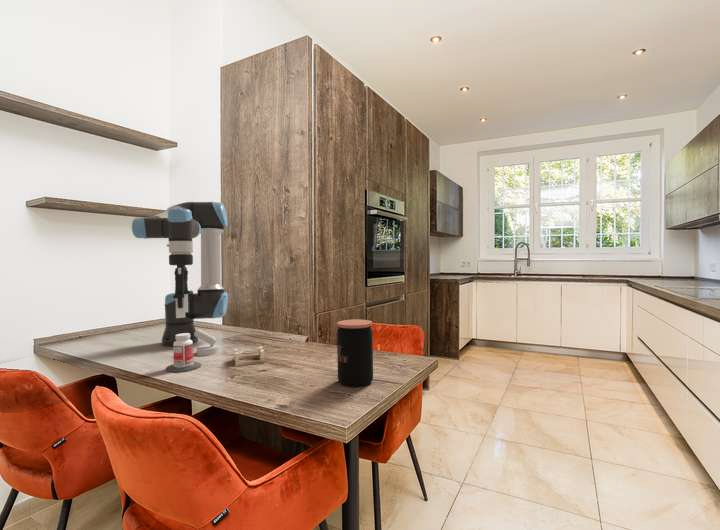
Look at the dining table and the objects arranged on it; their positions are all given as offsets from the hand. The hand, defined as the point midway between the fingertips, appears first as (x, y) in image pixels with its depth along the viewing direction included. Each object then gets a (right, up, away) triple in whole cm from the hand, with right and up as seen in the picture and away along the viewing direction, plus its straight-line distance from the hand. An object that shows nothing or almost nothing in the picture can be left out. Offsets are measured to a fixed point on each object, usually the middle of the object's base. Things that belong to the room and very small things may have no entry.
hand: (182, 314), depth 133 cm
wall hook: (0, -18, +21) cm, 28 cm away
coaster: (0, -18, 0) cm, 18 cm away
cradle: (+21, -18, +8) cm, 29 cm away
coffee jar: (+60, -18, -18) cm, 66 cm away
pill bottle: (0, -18, 0) cm, 18 cm away
